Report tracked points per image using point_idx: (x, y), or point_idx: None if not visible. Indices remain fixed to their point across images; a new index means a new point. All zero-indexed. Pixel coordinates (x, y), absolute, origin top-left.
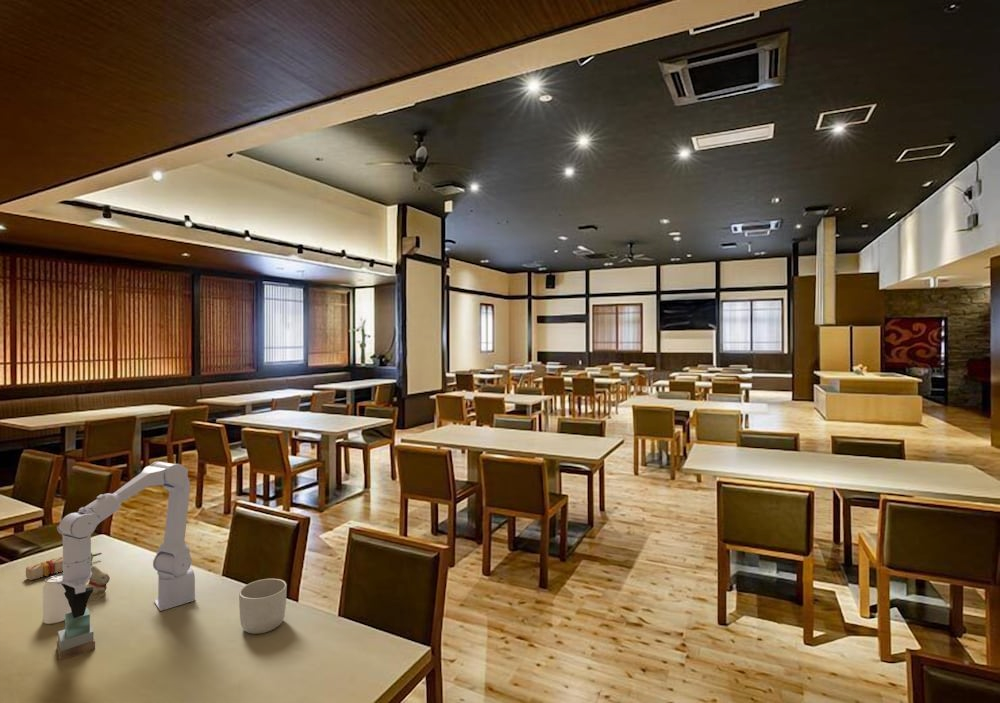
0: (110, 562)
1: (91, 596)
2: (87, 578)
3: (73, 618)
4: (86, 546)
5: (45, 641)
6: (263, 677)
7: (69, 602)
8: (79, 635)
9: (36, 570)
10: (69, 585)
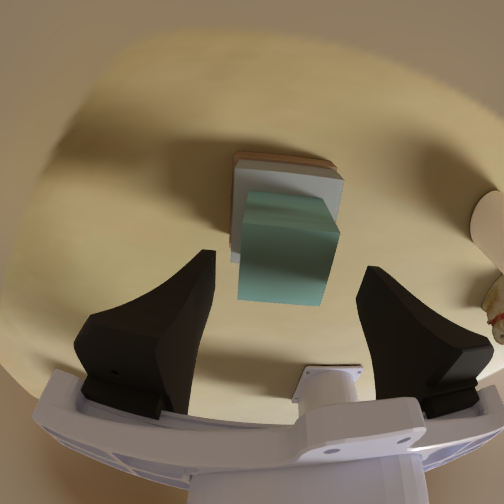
0: None
1: (495, 292)
2: (172, 485)
3: (246, 246)
4: None
5: (406, 155)
6: (17, 340)
7: (135, 300)
8: (234, 224)
9: None
10: (140, 431)
